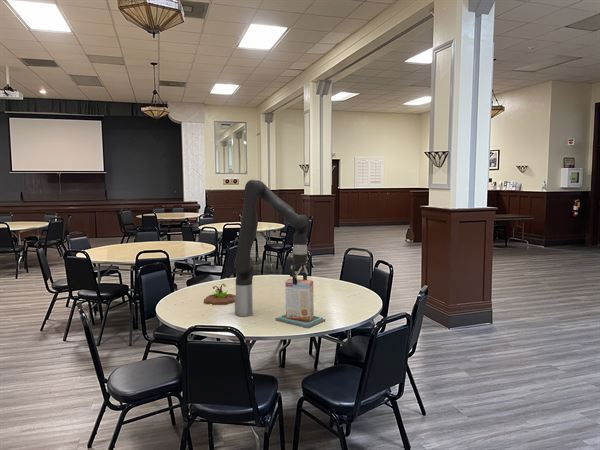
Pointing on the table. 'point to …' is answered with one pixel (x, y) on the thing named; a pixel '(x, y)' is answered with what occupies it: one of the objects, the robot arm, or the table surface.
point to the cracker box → (299, 300)
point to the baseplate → (301, 323)
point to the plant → (220, 297)
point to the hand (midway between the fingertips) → (300, 283)
